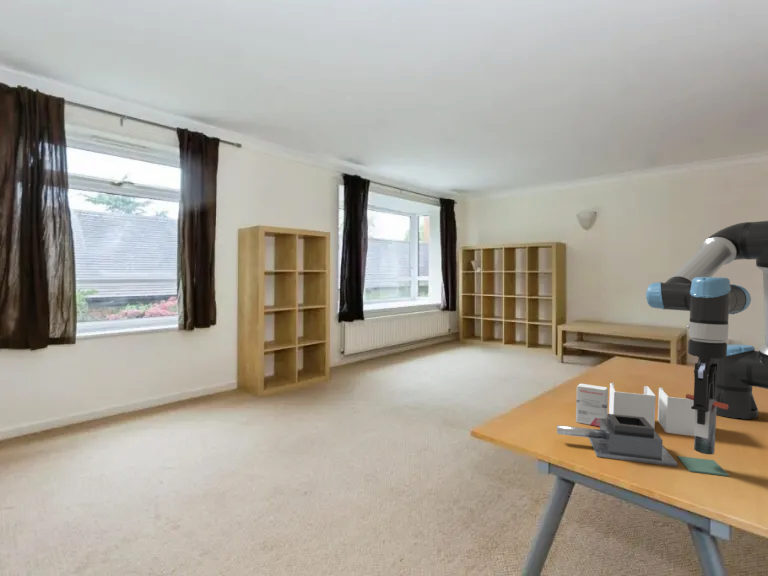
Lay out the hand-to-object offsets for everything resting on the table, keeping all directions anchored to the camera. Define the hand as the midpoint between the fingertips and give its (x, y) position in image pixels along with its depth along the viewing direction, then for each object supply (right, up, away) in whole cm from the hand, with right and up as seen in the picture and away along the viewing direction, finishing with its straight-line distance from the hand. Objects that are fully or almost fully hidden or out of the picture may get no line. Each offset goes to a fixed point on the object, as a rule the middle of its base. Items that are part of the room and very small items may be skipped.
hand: (703, 433), depth 104 cm
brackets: (+6, -7, +28) cm, 29 cm away
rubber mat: (0, -8, 0) cm, 8 cm away
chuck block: (-17, -8, +11) cm, 22 cm away
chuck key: (0, -4, 0) cm, 4 cm away
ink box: (-13, -7, +30) cm, 33 cm away
